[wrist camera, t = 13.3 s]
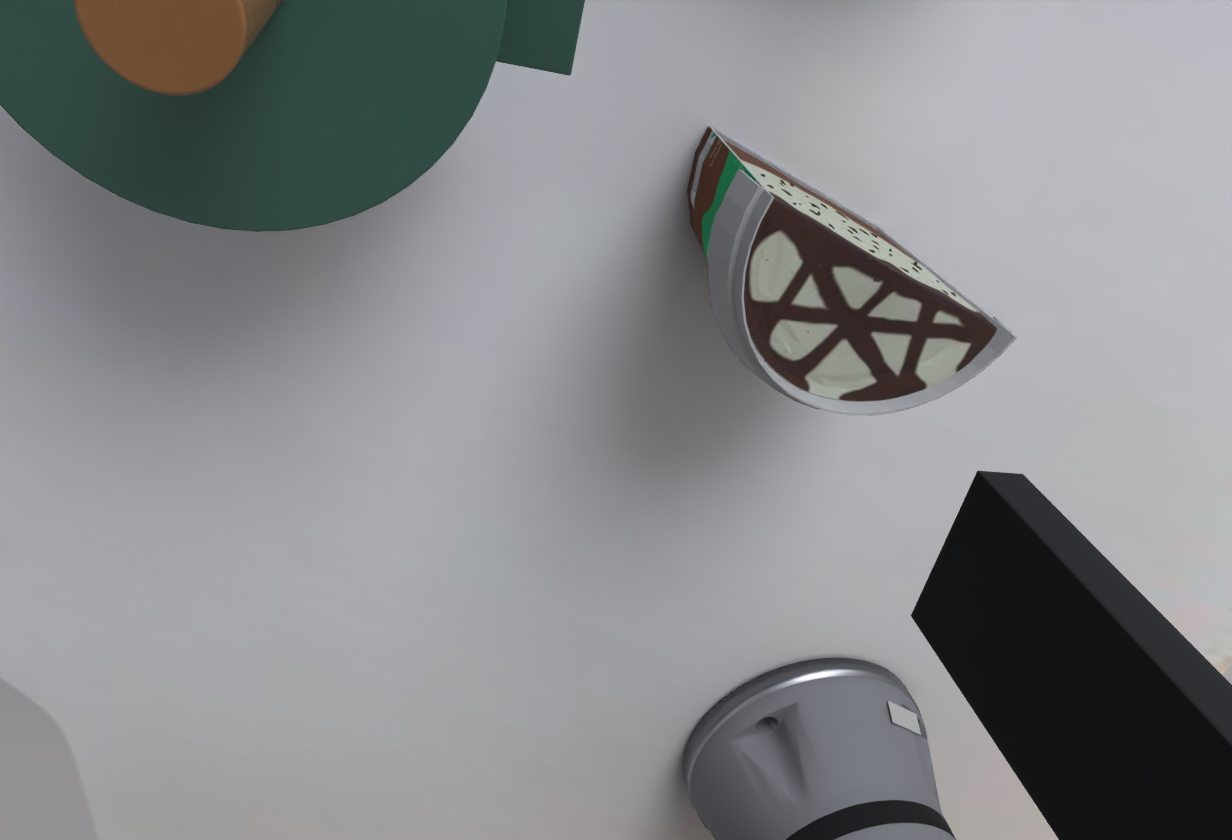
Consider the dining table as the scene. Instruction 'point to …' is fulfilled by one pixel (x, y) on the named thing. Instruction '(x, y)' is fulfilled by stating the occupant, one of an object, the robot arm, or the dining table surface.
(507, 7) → the canister
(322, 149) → the canister lid
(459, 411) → the dining table surface
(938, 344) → the food container
